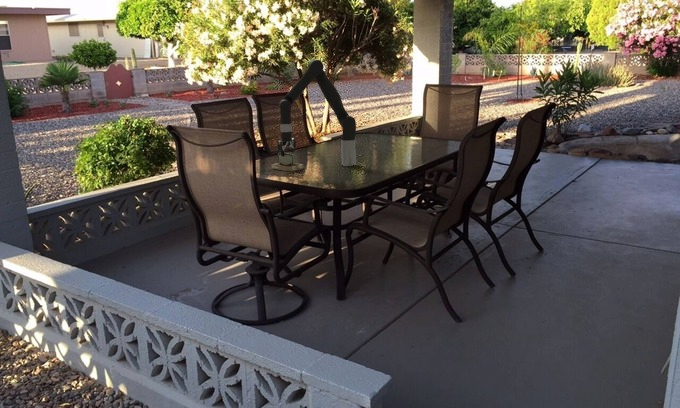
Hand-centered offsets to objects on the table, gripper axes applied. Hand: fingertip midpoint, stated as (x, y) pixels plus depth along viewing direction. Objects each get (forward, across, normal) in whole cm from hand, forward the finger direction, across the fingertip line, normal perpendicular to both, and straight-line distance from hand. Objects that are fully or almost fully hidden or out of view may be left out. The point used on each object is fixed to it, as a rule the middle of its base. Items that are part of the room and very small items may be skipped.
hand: (287, 155), depth 386 cm
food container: (+8, -1, 0) cm, 8 cm away
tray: (+9, 0, 0) cm, 9 cm away
